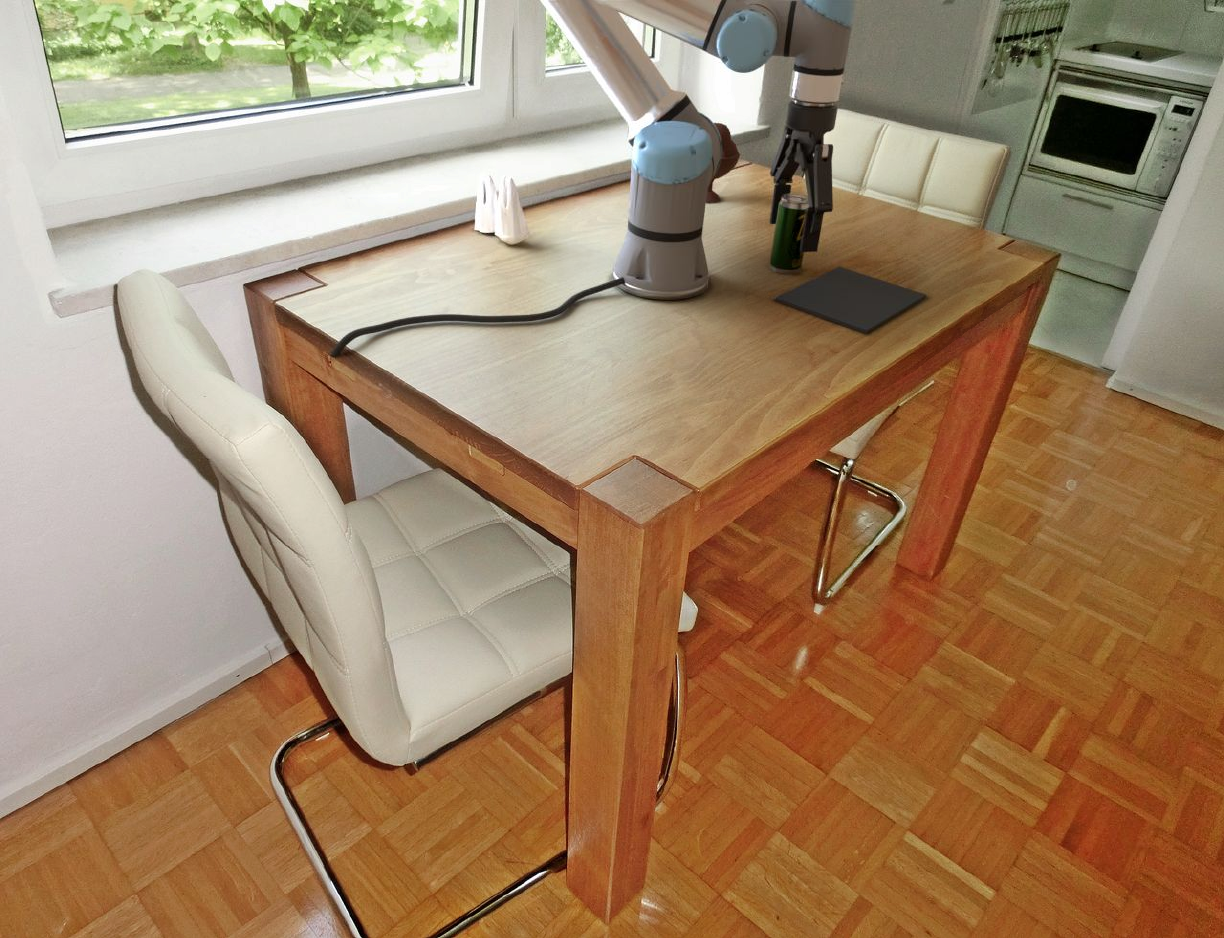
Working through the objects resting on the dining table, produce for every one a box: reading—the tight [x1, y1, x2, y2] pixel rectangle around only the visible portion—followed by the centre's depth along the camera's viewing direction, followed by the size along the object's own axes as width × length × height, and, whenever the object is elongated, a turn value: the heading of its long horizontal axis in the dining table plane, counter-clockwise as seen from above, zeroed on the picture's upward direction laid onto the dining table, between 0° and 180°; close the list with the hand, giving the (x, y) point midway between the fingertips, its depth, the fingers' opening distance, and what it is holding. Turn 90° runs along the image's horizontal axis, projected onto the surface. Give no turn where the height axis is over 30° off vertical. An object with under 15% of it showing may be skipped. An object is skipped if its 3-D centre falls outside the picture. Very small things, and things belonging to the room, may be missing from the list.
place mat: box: [774, 266, 927, 335], centre depth 142 cm, size 20×16×1 cm
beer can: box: [769, 192, 809, 275], centre depth 148 cm, size 5×5×12 cm
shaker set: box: [474, 173, 530, 245], centre depth 154 cm, size 12×4×11 cm, turn 40°
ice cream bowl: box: [706, 122, 741, 204], centre depth 178 cm, size 11×11×15 cm
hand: (792, 237), depth 149 cm, fingers open, 13 cm apart
